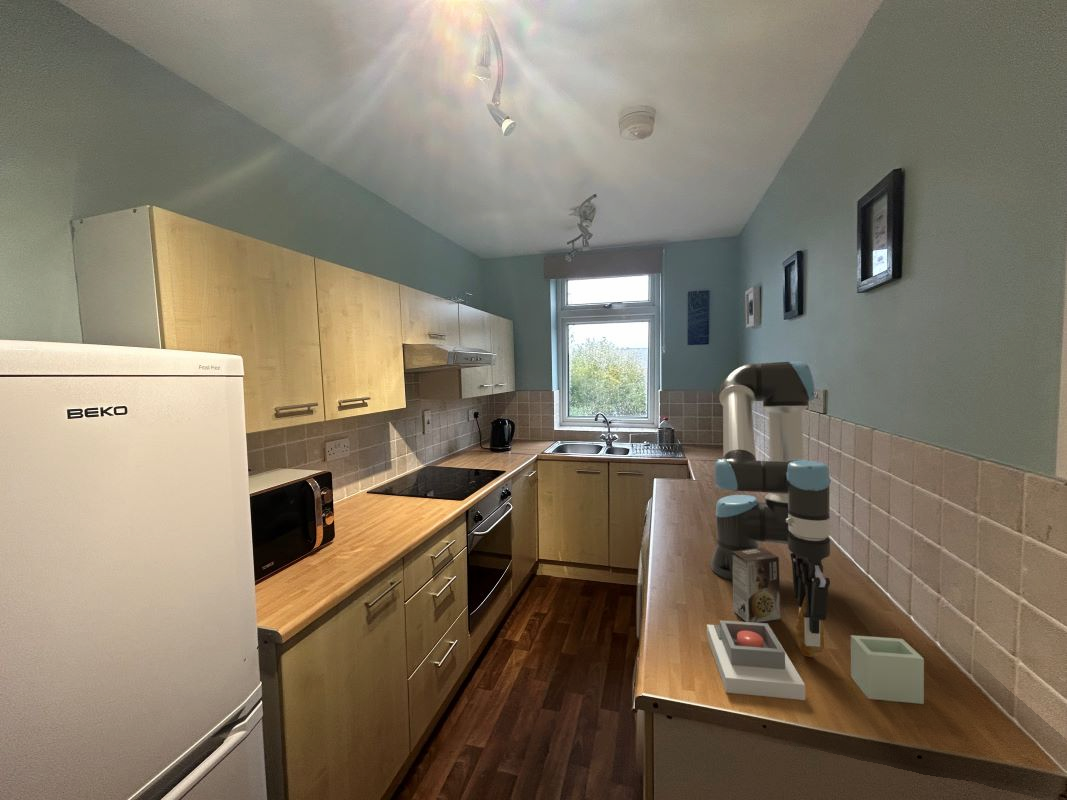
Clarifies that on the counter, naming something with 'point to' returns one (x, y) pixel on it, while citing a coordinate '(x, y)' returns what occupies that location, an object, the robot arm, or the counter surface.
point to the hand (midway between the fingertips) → (809, 640)
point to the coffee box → (756, 585)
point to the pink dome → (749, 639)
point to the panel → (753, 662)
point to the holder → (887, 669)
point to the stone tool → (800, 634)
